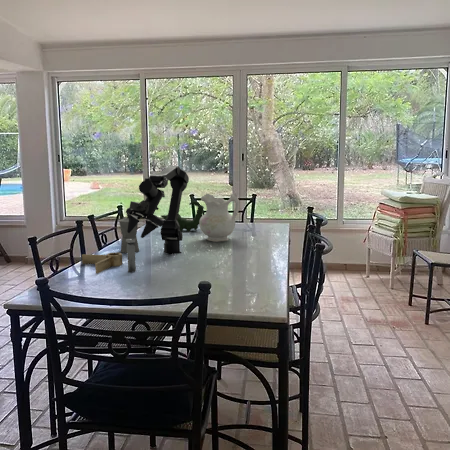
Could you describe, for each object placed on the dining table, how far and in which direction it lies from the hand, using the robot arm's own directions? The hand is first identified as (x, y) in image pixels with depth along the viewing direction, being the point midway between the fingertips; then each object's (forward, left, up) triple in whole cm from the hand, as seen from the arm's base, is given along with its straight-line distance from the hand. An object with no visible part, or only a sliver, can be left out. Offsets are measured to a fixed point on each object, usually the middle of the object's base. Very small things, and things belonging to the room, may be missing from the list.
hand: (134, 235), depth 187 cm
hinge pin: (+5, +7, -13) cm, 15 cm away
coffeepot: (-8, -28, -13) cm, 32 cm away
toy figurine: (-54, -59, -13) cm, 82 cm away
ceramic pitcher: (-58, -25, -13) cm, 65 cm away
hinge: (+10, -7, -13) cm, 18 cm away
